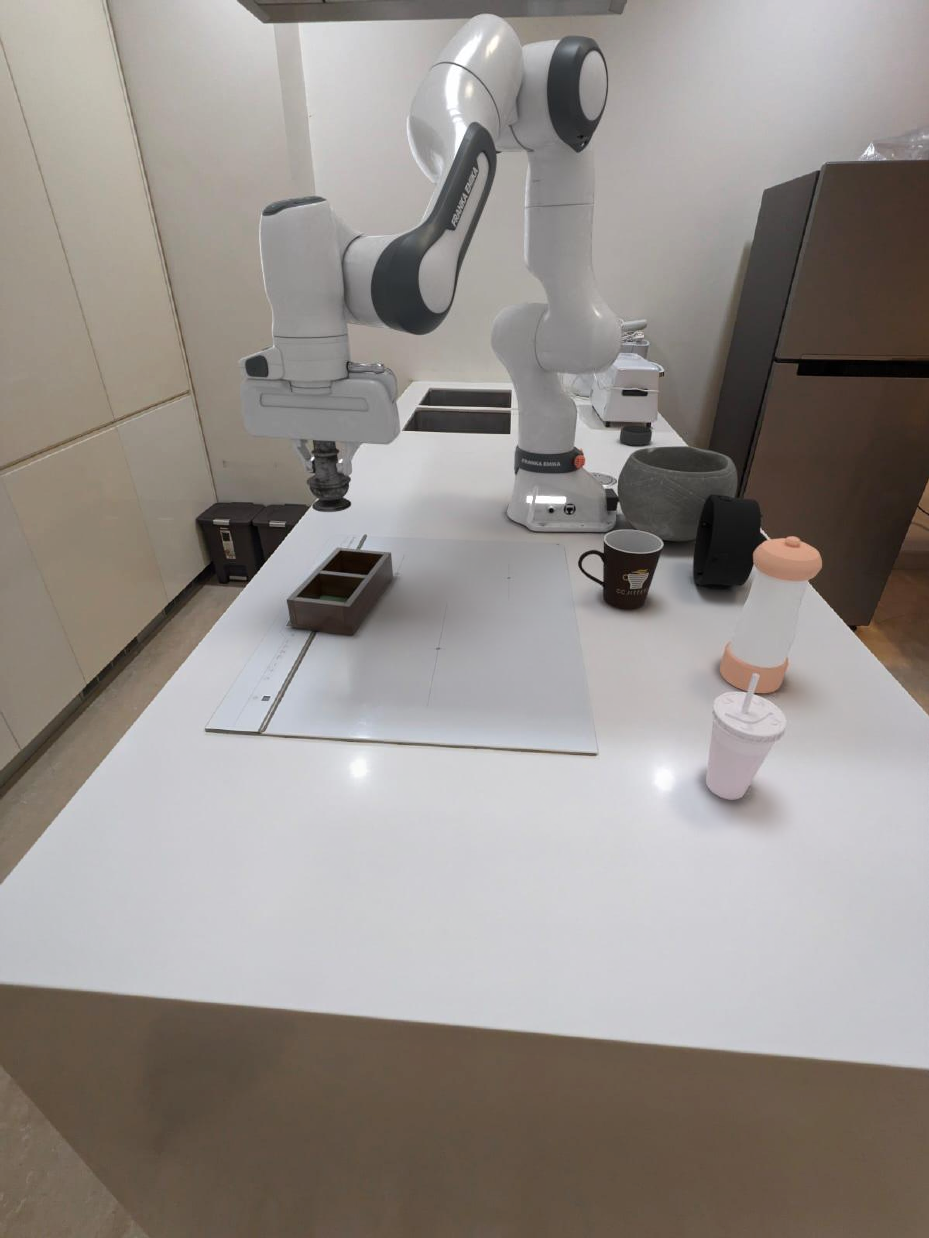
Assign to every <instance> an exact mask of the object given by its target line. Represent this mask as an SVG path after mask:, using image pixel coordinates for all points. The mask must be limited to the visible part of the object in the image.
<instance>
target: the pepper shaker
mask: <svg viewBox="0 0 929 1238" xmlns="http://www.w3.org/2000/svg"><path fill="white" fill-rule="evenodd" d="M753 562H754V565H753V566H754V567H755V568H756V570H755V574H754V577H753V579H752V583H751V587H750V590H749V593H748V596H747V598H746V601H745V603H744V605H743V607H742V608H741V610H740V612H739V614H738V615H737V616H738V617H737V618H736V621H735V623H734V627H733V630H732V635H731V639H730V641H729V642H728V643H727V644H726V645H725V647H724V652H723V655H722V658H721V663H720V666H719V673H720V674H721V678H722V679H724V680H725V681H726V682H727V683H728V684H730V685H731V686H733V687H735V688H737V689H740V690H742V691H743V692H747V691H748V688H749V684H750V681H751V678H752V675H753V674H754V673H756V674H759V679H758V682H757V685H756V688H755V691H754V694H769V693H773V692H775V691H777V690H780V687H781V686H782V683H783V680H784V677H785V675H786V672H787V670H788V666H789V657H788V656H789V653H790V651H791V648H792V645H793V643H794V640H795V637H796V631H797V625H798V624H797V623H798V617H799V611H800V607H801V604H802V601H803V598H804V595H805V592H806V589H807V587H808V583H809V580H811V579H814V578H815V577H816V576H817V575H818V574H819V573H820V571H821V570H822V568H823V560H822V556H821V554H820V552H819V550H818V549H817V548H815V547H813V546H812V545H810V544H808V543H806V542H804V541H801V539H800V538H799V537H797V536H794V535H793V536H792V535H790V536H787V537H786V538H785V537H781V538H780V537H779V538H771V539H767V541H764V542H763V543H762V544H760V545H759V546H758V547H757V548H756V550H755V551H754V553H753Z"/></svg>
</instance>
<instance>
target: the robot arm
mask: <svg viewBox="0 0 929 1238" xmlns="http://www.w3.org/2000/svg"><path fill="white" fill-rule="evenodd" d="M608 94H609V71H608V65H607V61H606V58H605V56H604V53H603V51H602V49H601V48H600V46H599V44H598V43H597V42H596V40H595V39H594V38H592V37H589V36H585V35H584V36H583V35H565V36H564V37H562V38H560V39H551V40H550V39H549V40H540V41H536V42H531V43H526V44H525V45H523V46H522V43H521V42H520V39H519V37H518V35H517V33H516V31H515V30H514V29H513V27H512V26H511V25H510V24H509V23H508V22H507V21H506V20H505V19H503V18H502V17H500V16H498V15H496V14H493V13H481V14H478V15H475V16H473V17H472V18H470V19H468V21H467V22H466V23H464V24H463V25H462V26H461V27H460V28H459V30H458V31H457V32H456V33H455V34H454V35H453V36H452V37H451V38H450V39H449V41H447V43H446V45H445V46H444V47H443V48H442V50H441V51H440V53H439V54H438V56H437V57H436V58H435V60H434V62H433V63H432V65H431V66H430V68H429V70H428V72H427V73H426V75H425V76H424V78H423V79H422V81H421V83H420V85H419V87H418V89H417V90H416V92H415V95H414V97H413V98H412V101H411V105H410V107H409V111H408V114H407V118H406V134H407V140H408V144H409V149H410V151H411V154H412V156H413V159H414V161H415V162H416V164H417V166H418V167H419V168H420V170H421V172H422V173H423V174H424V175H425V176H426V178H427V179H428V180H429V181H430V182H431V183H433V184H434V185H435V188H434V190H433V193H432V195H431V197H430V200H429V202H428V205H427V207H426V210H425V212H424V214H423V216H422V219H421V220H420V221H419V223H418V224H416V225H415V226H413V227H412V228H410V229H408V230H405V231H403V232H400V233H397V234H391V235H390V234H388V235H365V233H364V232H362V231H359V230H358V229H357V228H355V227H353V226H351V225H350V224H348V223H347V222H346V221H345V220H344V219H343V218H342V217H340V215H338V214H337V212H336V211H335V210H334V209H333V207H332V206H331V203H330V201H329V199H327V198H324V197H323V196H319V195H318V196H317V195H310V196H302V197H297V198H289V199H288V198H287V199H283V200H278V201H274V202H272V203H269V204H268V205H267V206H265V208H264V209H263V210H262V211H261V215H260V219H259V233H258V235H259V252H260V254H259V255H260V262H261V271H262V277H263V284H264V291H265V294H266V298H267V300H268V302H269V305H270V308H271V314H272V321H271V322H272V323H271V336H272V341H273V344H272V346H269V347H266V348H263V349H261V351H259V352H256V353H253V354H250V355H247V356H245V357H242V358H240V359H238V362H237V370H238V372H239V375H240V376H241V377H242V378H244V379H243V381H242V382H241V383H240V386H239V398H240V409H241V414H242V421H243V425H244V428H245V429H246V431H247V432H248V433H249V435H251V436H252V437H255V438H272V439H273V438H274V439H287V440H290V441H289V442H290V447H291V448H292V450H293V451H294V453H295V454H296V456H297V458H298V459H299V460H300V461H301V465H302V471H303V473H304V474H305V473H306V474H315V470H316V466H315V459H314V456H312V453H311V452H310V451H309V449H308V447H307V446H306V445H307V444H308V443H309V441H313V440H319V441H335V443H337V442H338V443H340V445H341V450H342V451H345V453H344V456H343V458H340V459H338V461H337V462H336V468H337V469H338V470H337V474H338V475H343V476H349V477H350V475H352V473H353V465H352V464H353V463H352V460H353V458H354V457H355V454H356V453H357V450H358V448H359V444H368V445H369V444H370V445H385V446H386V445H390V444H392V443H393V442H394V441H395V440H396V439H397V438H398V437H399V435H400V434H401V421H400V413H399V407H398V403H397V397H398V393H399V391H398V379H397V376H396V374H395V373H394V372H393V370H392V369H391V368H388V367H387V366H385V364H384V363H380V362H373V363H366V362H360V361H358V362H357V361H352V358H351V348H350V338H349V337H350V336H349V328H348V324H350V325H356V326H363V327H364V326H365V327H369V328H379V329H389V330H394V331H398V332H402V333H406V334H411V335H413V336H414V335H415V336H423V335H427V334H431V333H432V332H433V331H435V330H436V329H438V327H439V326H441V324H442V323H443V322H444V320H445V319H446V318H447V316H448V314H449V312H450V311H451V309H452V306H453V303H454V301H455V297H456V293H457V287H458V282H459V277H460V272H461V269H462V266H463V263H464V260H465V257H466V254H467V253H468V249H469V247H470V245H471V242H472V240H473V237H474V234H475V232H476V230H477V228H478V224H479V222H480V219H481V217H482V214H483V212H484V209H485V206H486V205H487V201H488V199H489V196H490V194H491V190H492V187H493V185H494V181H495V178H496V177H495V176H496V172H497V164H498V155H499V154H501V153H524V152H525V153H526V156H527V160H528V161H527V170H526V177H525V190H524V222H523V223H524V227H523V228H524V230H523V231H524V232H523V260H524V264H525V266H526V269H527V270H528V272H529V273H530V274H531V275H533V276H534V277H535V278H537V279H538V281H539V282H540V284H541V285H542V288H543V290H544V292H545V295H546V298H547V303H545V302H544V303H543V302H523V303H518V304H513V305H509V306H506V307H504V308H502V309H501V310H500V311H498V313H497V314H496V316H495V318H494V320H493V323H492V325H491V326H492V327H491V329H490V344H491V348H492V350H493V353H494V355H495V357H496V358H497V360H499V361H500V362H501V364H502V365H503V366H504V368H505V369H506V372H507V373H508V375H509V377H510V379H511V382H512V385H513V388H514V392H515V395H516V396H515V397H516V402H517V410H518V413H517V414H518V428H517V429H518V432H517V433H518V434H517V444H516V446H515V450H514V458H513V461H514V462H513V470H514V481H513V482H514V483H513V489H512V492H511V493H512V494H511V497H510V501H509V505H508V508H507V510H506V515H507V517H508V519H510V520H512V521H514V522H516V523H517V524H520V525H523V526H525V527H526V528H527V529H529V530H531V531H532V532H545V533H546V532H547V533H549V532H557V533H559V532H562V533H563V532H564V533H566V532H567V533H605V532H606V533H608V532H610V531H611V530H612V529H613V528H614V527H615V526H616V523H617V513H616V512H617V511H618V503H619V498H618V493H617V492H616V491H615V490H614V488H605V487H604V485H603V483H602V482H601V481H600V480H598V479H597V478H595V476H594V475H592V474H591V473H590V472H589V471H588V470H587V469H585V467H584V466H585V464H586V457H585V454H584V452H583V449H582V448H580V449H579V448H578V447H576V446H575V442H576V441H575V440H576V431H577V430H576V429H577V420H578V409H577V403H576V402H575V400H574V399H573V398H572V397H571V396H570V395H569V394H568V393H567V392H566V391H565V389H564V388H563V387H562V385H561V382H560V379H559V375H558V373H560V374H567V375H573V376H585V375H596V374H601V373H605V372H606V371H608V370H609V369H610V368H611V367H612V366H613V364H614V363H615V362H616V360H617V359H618V357H619V354H620V353H621V349H622V346H623V328H622V324H621V322H620V319H619V318H618V316H617V315H616V314H615V312H613V310H612V309H611V308H610V307H609V306H608V304H607V303H606V301H605V300H604V298H603V296H602V294H601V291H600V289H599V287H598V284H597V281H596V276H595V272H594V266H593V225H594V223H593V222H594V207H595V205H594V204H595V187H596V186H595V184H596V182H595V180H596V179H595V178H596V172H595V154H594V152H595V151H594V141H593V137H594V133H595V132H596V130H597V129H598V126H599V124H600V123H601V119H602V118H603V115H604V112H605V109H606V106H607V100H608ZM497 154H498V155H497ZM385 372H386V373H385ZM763 517H764V515H763V514H762V513H761V518H763Z"/></svg>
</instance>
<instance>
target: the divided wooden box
mask: <svg viewBox="0 0 929 1238" xmlns="http://www.w3.org/2000/svg"><path fill="white" fill-rule="evenodd" d="M392 558H393V557H392V552H389V551H379V550H368V549H367V550H366V549H359V548H357V549H356V548H348V547H347V548H346V547H337V546H336V548H335V549H334V550H333V551H332V552H331V553H330V554H329V555H328V556H327V557H326V558H325V559H324V560H323V561H322V562H321V564H319V565H318V566H317V568H315V569H314V570H313V571H312V573H310V575H308V577H307V578H306V579H305V580H304V581H303V582H302V583H301V584H300V585H299V586H298V587H297V588H296V589H295V590H294V591H292V593H291V594H290V595H289V597H287V598H286V605H287V609H288V615H289V621H290V626H291V629H296V630H302V631H303V630H305V631H312V632H320V633H327V634H335V635H344V636H351V637H352V636H353V637H354V635H355V634H356V633H357V631H358V629H360V627H361V626H362V624H363V622H364V621H365V619H366V618H367V617H368V615H369V614H370V613H371V611H372V610H373V608H374V606H375V605H377V602H378V601H379V599H380V598H381V597H382V595H383V594H384V593H385V591H386V589H387V588H388V586H389V585H390V583H391V582H392V581H393V580H394V573H393V559H392Z"/></svg>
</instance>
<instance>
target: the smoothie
mask: <svg viewBox="0 0 929 1238" xmlns="http://www.w3.org/2000/svg"><path fill="white" fill-rule="evenodd" d="M758 679H759V674H756V673H754V674H753V675H752V678H751V681H750V684H749V688H748V691H728V692H724V693H722V694H719V695H718V696H717V697H716V698H715V699H714V701H713V703H712V704H713V705H712V707H711V709H710V717H711V719H712V724H711V734H710V741H709V742H710V744H709V750H708V751H709V752H708V758H707V768H706V775H705V784H706V786H707V788H708V789H709V791H710V792H711V793H713V795H716V796H717V797H720V798H721V799H724V800H730V801H733V800H734V801H735V800H739V799H741V798H742V797H744V795H745V793H746V792H747V790H748V788H749V786H750V785H751V783H752V782H753V780H754V778H755V777H756V775H757V774H758V771H759V770H760V768H761V766H762V765H763V763H764V761H765V760H766V758H767V756H768V755H769V753H770V751H772V748H773V746H774V745H775V743H776V742H777V741H780V740H781V739H782V738H783V736H784V735H785V731H786V728H787V723H788V722H787V718H786V715H785V714H784V712H783V711H782V709H780V707H779V706H777V705H776V704H775V703H773V702H772V701H770V700H769V699H767V698H765V697H762V696H760V695H757V694H755V693H754V691H755V688H756V685H757V682H758Z"/></svg>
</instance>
